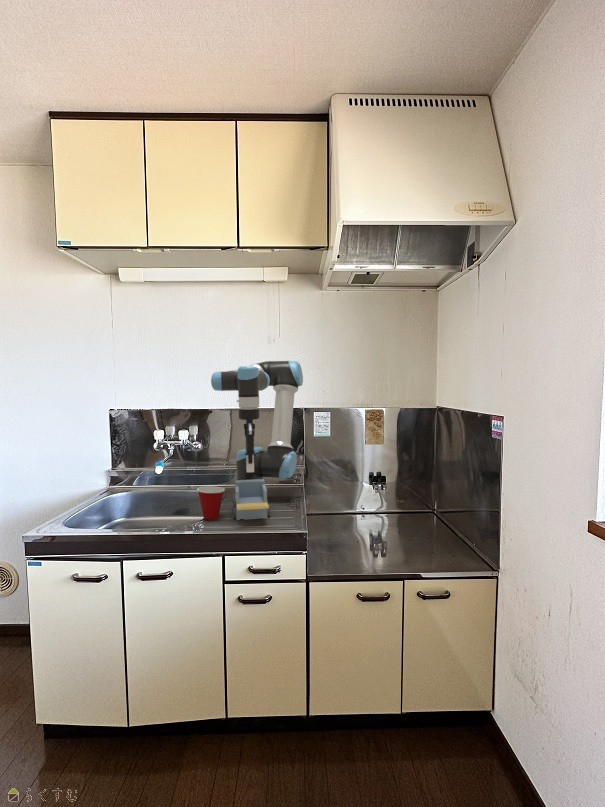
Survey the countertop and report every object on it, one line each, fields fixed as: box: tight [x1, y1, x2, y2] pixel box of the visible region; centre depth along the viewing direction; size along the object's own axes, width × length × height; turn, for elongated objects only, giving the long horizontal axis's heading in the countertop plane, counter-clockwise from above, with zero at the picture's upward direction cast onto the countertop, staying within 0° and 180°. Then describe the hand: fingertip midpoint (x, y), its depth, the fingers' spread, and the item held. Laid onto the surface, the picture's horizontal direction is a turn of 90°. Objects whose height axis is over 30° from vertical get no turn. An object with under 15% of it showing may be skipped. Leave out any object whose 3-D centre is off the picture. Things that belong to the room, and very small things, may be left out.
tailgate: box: [237, 502, 270, 510], centre depth 178 cm, size 2×12×9 cm
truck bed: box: [232, 478, 271, 521], centre depth 190 cm, size 14×14×12 cm
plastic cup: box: [196, 485, 226, 521], centre depth 185 cm, size 11×11×12 cm
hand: (250, 471), depth 174 cm, fingers closed
